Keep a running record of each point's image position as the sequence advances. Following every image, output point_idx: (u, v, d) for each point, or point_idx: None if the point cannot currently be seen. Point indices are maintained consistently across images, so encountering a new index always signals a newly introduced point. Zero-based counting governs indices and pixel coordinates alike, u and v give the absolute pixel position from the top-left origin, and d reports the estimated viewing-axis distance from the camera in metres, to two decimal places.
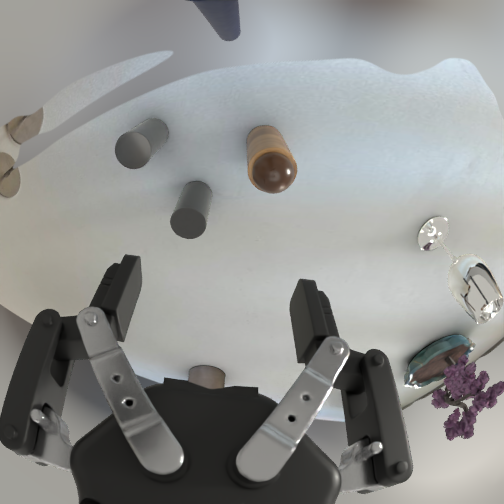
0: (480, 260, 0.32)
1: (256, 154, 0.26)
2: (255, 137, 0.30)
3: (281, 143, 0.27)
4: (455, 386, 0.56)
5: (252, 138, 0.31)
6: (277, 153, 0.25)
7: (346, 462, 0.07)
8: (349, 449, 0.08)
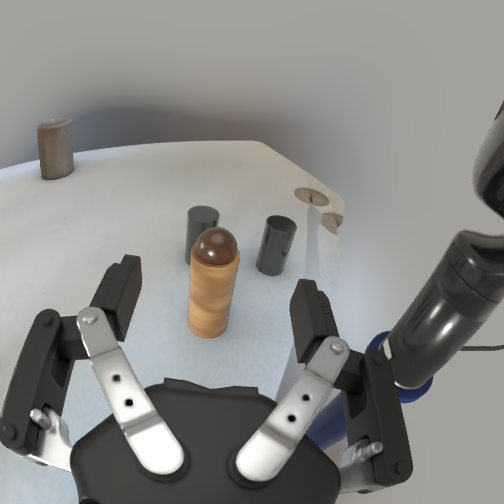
0: None
1: (238, 251, 0.28)
2: None
3: (226, 285, 0.28)
4: None
5: None
6: (232, 257, 0.26)
7: (346, 462, 0.07)
8: (349, 449, 0.08)
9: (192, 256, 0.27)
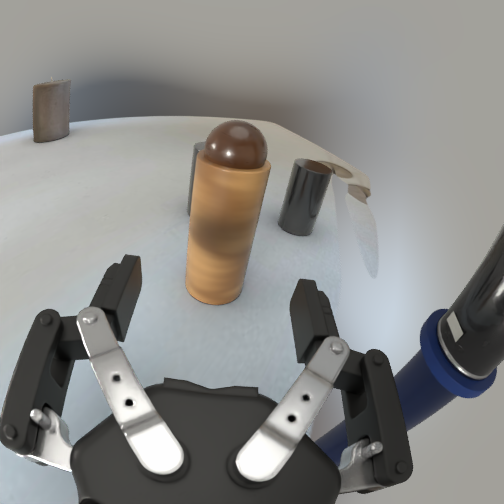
0: None
1: (267, 161, 0.18)
2: None
3: (248, 208, 0.18)
4: None
5: None
6: (260, 160, 0.16)
7: (346, 462, 0.07)
8: (349, 449, 0.08)
9: (198, 159, 0.17)
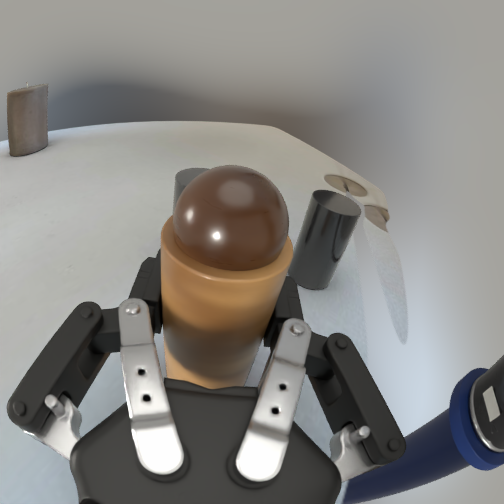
0: None
1: (286, 235, 0.11)
2: None
3: (254, 326, 0.10)
4: None
5: None
6: (278, 249, 0.09)
7: (337, 451, 0.08)
8: (336, 438, 0.08)
9: (163, 243, 0.09)
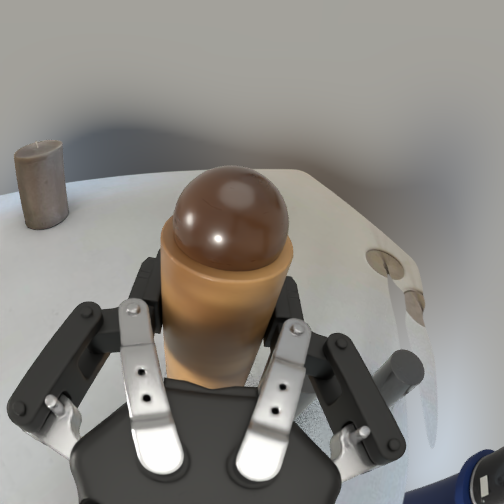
0: None
1: (286, 236, 0.11)
2: None
3: (254, 326, 0.10)
4: None
5: None
6: (278, 249, 0.09)
7: (337, 451, 0.08)
8: (336, 438, 0.08)
9: (162, 244, 0.09)
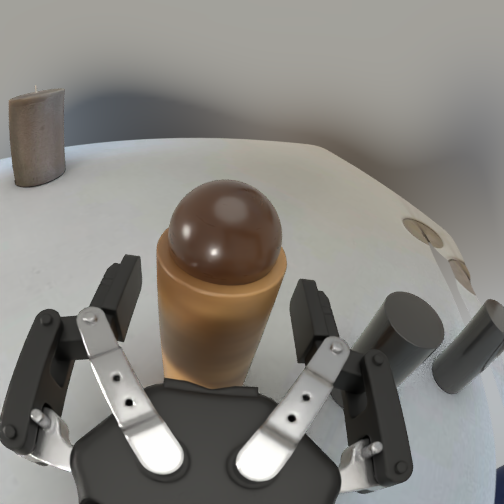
0: None
1: (280, 247, 0.11)
2: None
3: (248, 336, 0.10)
4: None
5: None
6: (270, 263, 0.09)
7: (346, 462, 0.07)
8: (349, 449, 0.08)
9: (158, 257, 0.09)
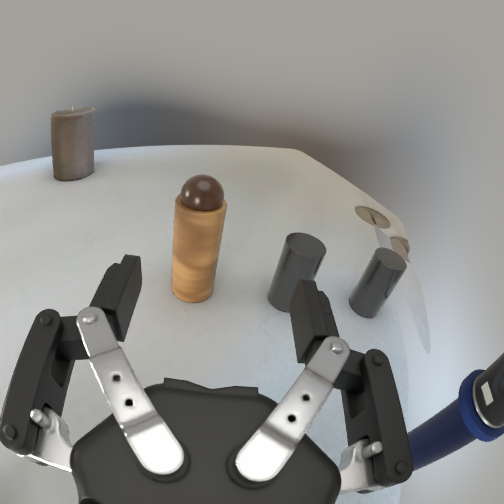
0: None
1: (225, 202, 0.26)
2: None
3: (210, 237, 0.26)
4: None
5: None
6: (217, 204, 0.25)
7: (346, 462, 0.07)
8: (349, 449, 0.08)
9: (176, 203, 0.25)
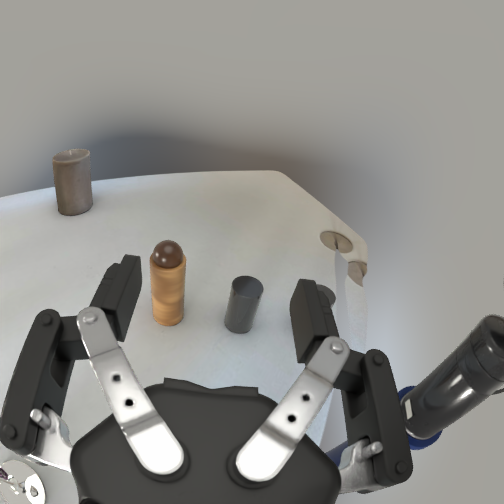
0: None
1: (185, 258, 0.36)
2: None
3: (175, 284, 0.36)
4: None
5: None
6: (177, 263, 0.35)
7: (346, 462, 0.07)
8: (349, 449, 0.08)
9: (150, 261, 0.35)
